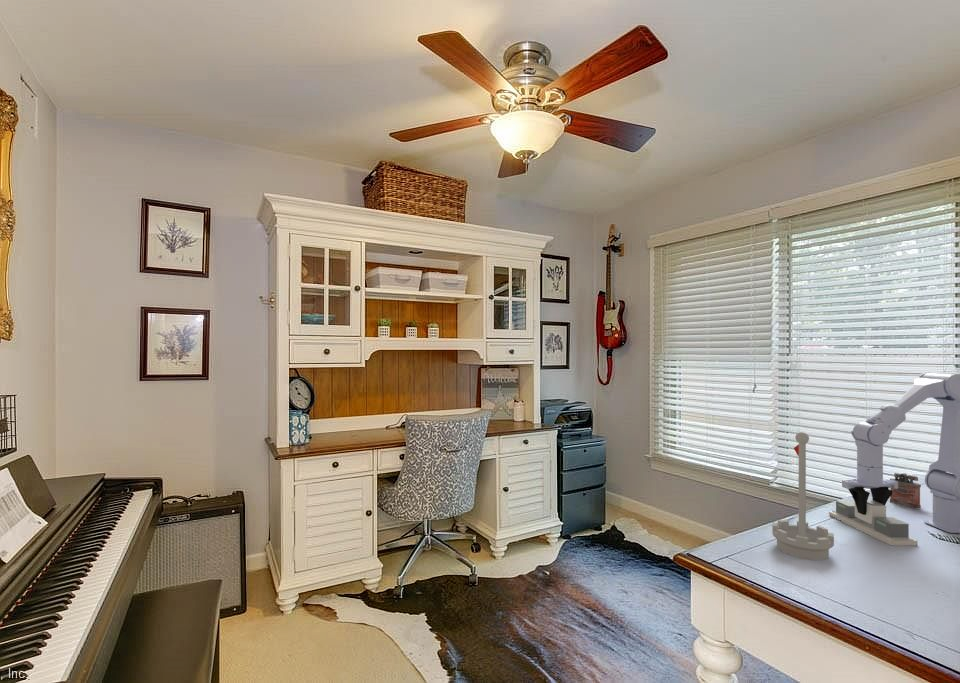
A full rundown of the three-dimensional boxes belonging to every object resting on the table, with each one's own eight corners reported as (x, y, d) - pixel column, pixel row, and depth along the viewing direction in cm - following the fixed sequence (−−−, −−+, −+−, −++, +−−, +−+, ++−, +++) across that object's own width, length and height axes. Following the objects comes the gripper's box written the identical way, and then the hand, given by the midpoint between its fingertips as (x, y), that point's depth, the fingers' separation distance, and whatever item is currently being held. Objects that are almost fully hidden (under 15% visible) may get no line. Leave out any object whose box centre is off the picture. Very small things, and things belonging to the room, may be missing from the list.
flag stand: (844, 564, 116) (845, 438, 116) (784, 559, 119) (784, 436, 119) (818, 542, 129) (818, 428, 129) (764, 538, 131) (764, 426, 131)
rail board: (851, 515, 149) (851, 498, 149) (917, 545, 127) (917, 526, 127) (829, 515, 148) (829, 498, 148) (890, 545, 126) (890, 526, 126)
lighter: (887, 501, 161) (887, 471, 161) (893, 500, 163) (893, 470, 163) (917, 509, 154) (917, 477, 154) (923, 507, 156) (923, 476, 156)
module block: (868, 516, 140) (868, 497, 140) (886, 524, 134) (886, 504, 134) (854, 516, 140) (854, 497, 140) (871, 524, 134) (871, 504, 134)
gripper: (883, 461, 142) (883, 508, 142) (833, 462, 141) (833, 508, 141) (904, 468, 135) (904, 517, 135) (852, 468, 134) (852, 517, 134)
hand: (869, 513), depth 138 cm, fingers closed on module block, 4 cm apart
